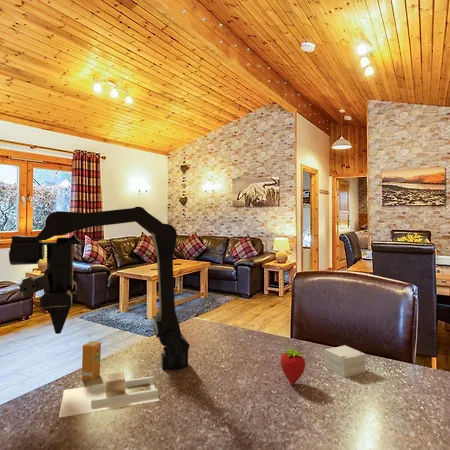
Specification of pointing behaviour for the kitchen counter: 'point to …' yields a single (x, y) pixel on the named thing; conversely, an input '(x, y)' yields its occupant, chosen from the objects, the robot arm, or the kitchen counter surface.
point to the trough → (97, 401)
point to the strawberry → (292, 365)
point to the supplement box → (91, 360)
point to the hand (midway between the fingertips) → (60, 327)
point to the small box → (345, 361)
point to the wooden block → (115, 384)
